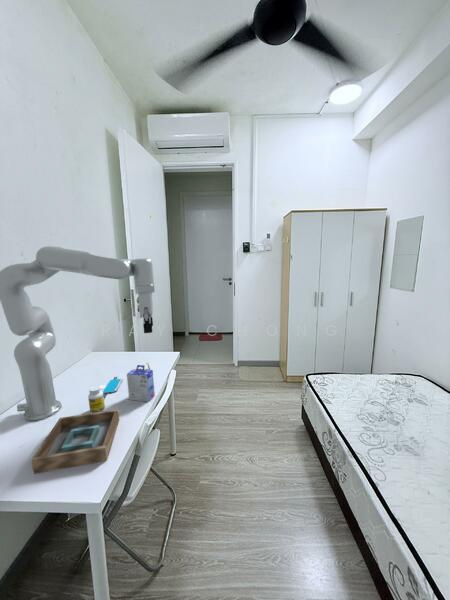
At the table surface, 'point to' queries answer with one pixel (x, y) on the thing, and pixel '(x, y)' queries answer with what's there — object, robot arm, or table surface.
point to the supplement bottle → (96, 399)
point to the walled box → (77, 441)
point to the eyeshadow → (148, 366)
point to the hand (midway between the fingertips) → (148, 329)
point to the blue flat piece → (111, 386)
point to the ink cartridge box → (140, 384)
